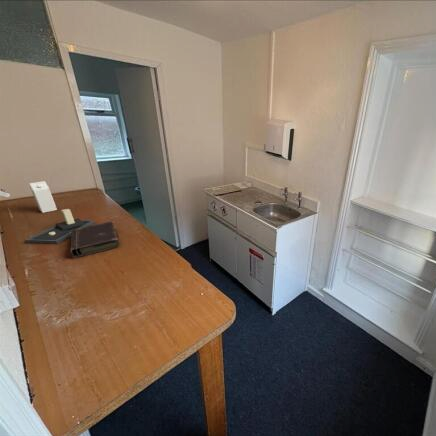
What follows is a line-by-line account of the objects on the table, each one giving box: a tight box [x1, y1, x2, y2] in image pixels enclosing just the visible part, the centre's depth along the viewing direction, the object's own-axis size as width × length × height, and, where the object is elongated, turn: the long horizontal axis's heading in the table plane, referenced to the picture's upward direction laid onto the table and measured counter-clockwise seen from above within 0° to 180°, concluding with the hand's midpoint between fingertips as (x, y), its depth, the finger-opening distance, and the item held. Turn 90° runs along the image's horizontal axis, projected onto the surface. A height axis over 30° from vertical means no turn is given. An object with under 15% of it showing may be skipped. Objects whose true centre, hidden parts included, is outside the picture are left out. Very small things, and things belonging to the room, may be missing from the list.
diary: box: [69, 221, 120, 259], centre depth 118 cm, size 19×25×5 cm
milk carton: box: [29, 180, 58, 214], centre depth 149 cm, size 7×7×19 cm
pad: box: [34, 230, 71, 240], centre depth 121 cm, size 10×10×2 cm
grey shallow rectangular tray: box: [24, 219, 96, 245], centre depth 127 cm, size 15×25×2 cm, turn 1°
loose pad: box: [55, 208, 86, 230], centre depth 130 cm, size 10×10×9 cm
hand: (6, 193), depth 111 cm, fingers open, 8 cm apart
